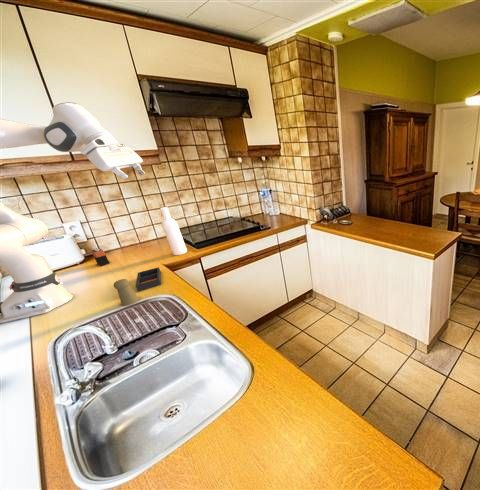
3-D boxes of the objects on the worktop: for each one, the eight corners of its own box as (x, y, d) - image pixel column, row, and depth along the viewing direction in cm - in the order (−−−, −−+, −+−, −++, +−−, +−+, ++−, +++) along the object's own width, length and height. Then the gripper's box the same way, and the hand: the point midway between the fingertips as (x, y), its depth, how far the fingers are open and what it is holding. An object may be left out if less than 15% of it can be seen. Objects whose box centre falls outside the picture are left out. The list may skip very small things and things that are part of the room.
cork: (128, 306, 117) (118, 284, 113) (118, 305, 118) (107, 283, 114) (141, 298, 122) (132, 277, 118) (131, 297, 124) (121, 276, 119)
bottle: (174, 252, 173) (157, 207, 161) (187, 249, 176) (172, 205, 164) (172, 256, 166) (154, 210, 154) (186, 253, 169) (170, 208, 158)
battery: (100, 266, 158) (92, 251, 154) (97, 264, 162) (89, 249, 158) (110, 263, 161) (102, 248, 158) (106, 261, 165) (99, 246, 161)
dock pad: (138, 291, 128) (135, 285, 127) (140, 277, 142) (137, 272, 140) (161, 284, 133) (158, 279, 132) (160, 272, 147) (158, 267, 145)
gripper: (118, 148, 111) (145, 176, 117) (75, 151, 93) (110, 185, 98) (129, 139, 111) (156, 168, 116) (88, 141, 92) (123, 175, 97)
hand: (135, 176), depth 107 cm, fingers open, 8 cm apart
